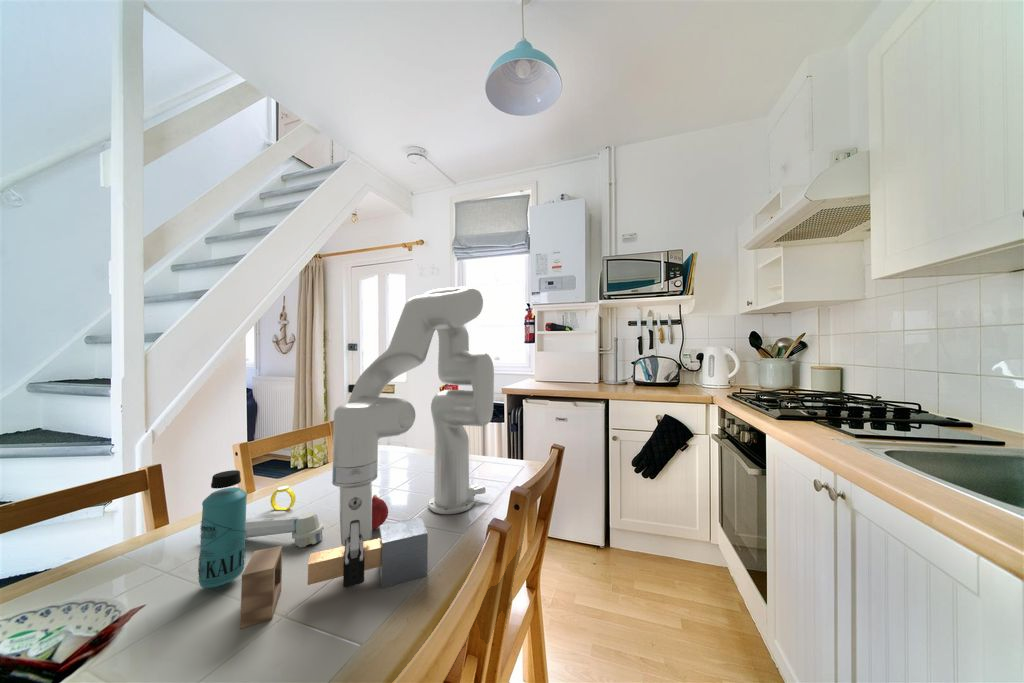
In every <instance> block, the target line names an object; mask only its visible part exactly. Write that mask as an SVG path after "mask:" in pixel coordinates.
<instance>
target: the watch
mask: <svg viewBox="0 0 1024 683" xmlns="http://www.w3.org/2000/svg"><path fill="white" fill-rule="evenodd" d="M284 492H286V493H288V495H289V498H290V501H291V502H290V503H289V506H288V507H284V506H282V507H280V506H279V505H278V504H277V501H276V497H277V496H276V495H277V494H278V493H284ZM295 503H296V494H295V492H294V490H293V489H291V488H290V485H284V486H283V485H282V486H280V487H277V489H276V491H274V492H273V493H272V495H271V496H270V505H271V507H272V509H273V510H274V511H276V510H287V511H289V510H290V509H291V508H292V507H293V506H294V505H295Z"/></svg>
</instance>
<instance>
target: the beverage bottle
mask: <svg viewBox="0 0 1024 683" xmlns="http://www.w3.org/2000/svg"><path fill="white" fill-rule="evenodd" d="M241 482H242V479H241V471H240V470H236V469H232V470H225V471H220V472H217V473H216V474H213V475H212V477H211V483H210V487H211V489H215V491H213V492H211V493H210V494H209V495H208V496H207V497H206V498H204V500H202V504H201V505H202V511H201V512H202V513H201V514H202V515H201V521H200V525H199V527H200V536H199V539H200V540H199V541H200V544H199V545H200V548H199V550H200V551H199V556H198V569H197V570H198V571H197V574H198V577H197V579H198V584H199V586H200V587H201V588H205V589H209V588H215V587H219V586H222V585H225V584H227V583H229V582H232V581H233V580H235V579H237V578H238V577H239V576H241V575H242V574H243V572H244V570H245V559H246V552H247V551H246V549H247V548H246V538H245V535H246V533H247V532H246V530H245V526H246V519H247V499H248V498H247V497H248V493H247V491H245V490H244V489H242V488H241V487H236V486H237V485H238V484H240V483H241ZM234 486H235V487H234ZM216 489H218V490H216Z"/></svg>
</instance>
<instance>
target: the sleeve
mask: <svg viewBox="0 0 1024 683" xmlns="http://www.w3.org/2000/svg"><path fill="white" fill-rule="evenodd" d="M428 533H429V532H428V531H427V528H426V525H425V523H424V521H423V519H422V516H419V517H414V518H413V517H412V518H410V519H404V520H399V521H394V522H388V523H383V524H382V525H380V526H379V538H381V544H382V564H381V567H378V568H379V576H380V577H379V578H380V586H381V587H380V588H381V589H384V588H389V587H391V586H395V585H398V584H402V583H405V582H406V583H407V582H409V581H412V580H416V579H419V578H424V577H427V576H428V556H429V555H428V553H429V552H428V547H429V546H428V543H429V542H428V541H429V540H428V539H429V538H428Z"/></svg>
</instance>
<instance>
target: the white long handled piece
mask: <svg viewBox="0 0 1024 683" xmlns="http://www.w3.org/2000/svg"><path fill="white" fill-rule="evenodd" d="M319 521H320V520H319V517H318V514H317V513H316V512H312V511H311V512H307V513H304V514H301V515H299V516H287V517H285V516H284V517H269V518H267V517H266V518H249V519H247V518H246V526H245V530H246V532H247V533H246V535H245V539H249V538H258V537H263V536H265V537H266V536H274V535H281V534H288V533H290V534H291V538H292V539H294V546H295V547H296V546H297V547H298V548H306V547H307V545H311V544H312V545H315V544H317V543H319V542H321V541H322V540H323V538H324V537H323V530H324V529H325V528H324V523H322V522H320V523H319Z"/></svg>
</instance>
